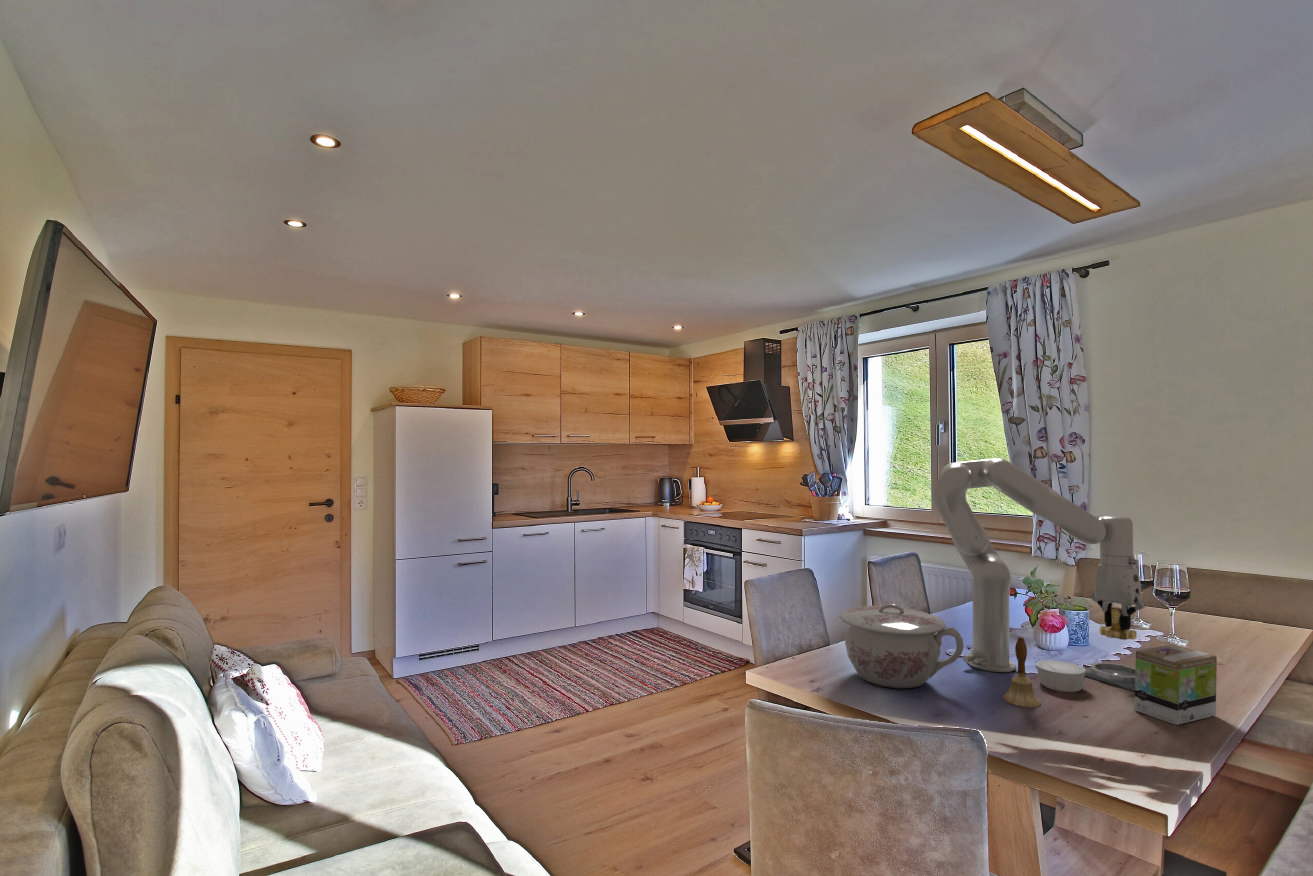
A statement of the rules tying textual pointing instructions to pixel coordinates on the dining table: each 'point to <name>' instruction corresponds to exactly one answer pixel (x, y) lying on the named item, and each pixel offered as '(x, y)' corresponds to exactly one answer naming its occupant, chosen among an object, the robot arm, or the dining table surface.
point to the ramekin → (1061, 675)
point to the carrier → (1113, 674)
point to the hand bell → (1021, 681)
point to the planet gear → (1117, 627)
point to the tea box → (1175, 684)
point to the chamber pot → (896, 644)
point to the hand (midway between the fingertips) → (1117, 627)
